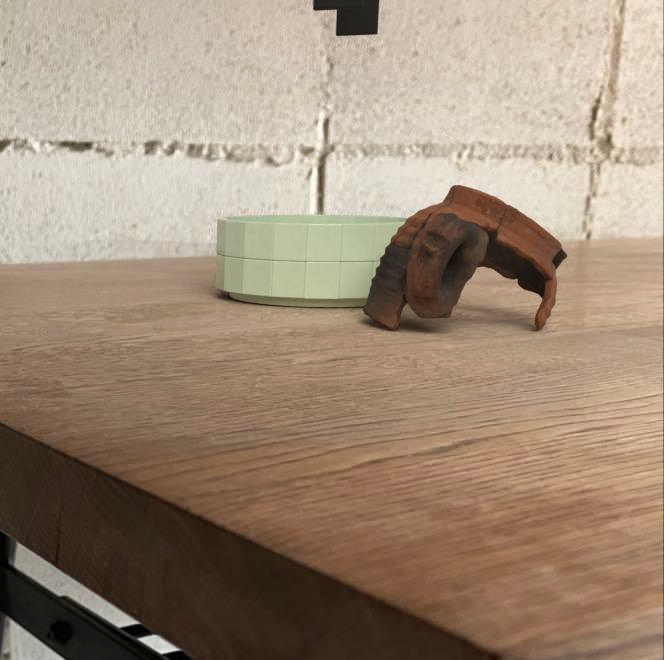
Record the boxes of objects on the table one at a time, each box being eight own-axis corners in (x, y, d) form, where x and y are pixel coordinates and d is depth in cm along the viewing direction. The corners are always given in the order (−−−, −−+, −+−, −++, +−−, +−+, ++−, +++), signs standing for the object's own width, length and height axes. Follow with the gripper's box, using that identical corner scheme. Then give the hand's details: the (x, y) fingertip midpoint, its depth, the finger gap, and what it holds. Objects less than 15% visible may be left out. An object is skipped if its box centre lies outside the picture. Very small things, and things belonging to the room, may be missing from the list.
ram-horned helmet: (365, 318, 68) (445, 195, 66) (501, 401, 65) (589, 275, 63) (321, 284, 57) (416, 134, 55) (484, 382, 54) (589, 228, 52)
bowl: (328, 283, 83) (332, 213, 82) (461, 301, 72) (468, 220, 71) (178, 292, 77) (179, 216, 75) (297, 314, 66) (302, 226, 65)
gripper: (322, -302, 75) (309, 45, 81) (265, -507, 52) (255, -2, 59) (439, -316, 73) (416, 41, 79) (433, -536, 50) (403, -10, 57)
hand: (348, 23), depth 69 cm, fingers open, 13 cm apart
